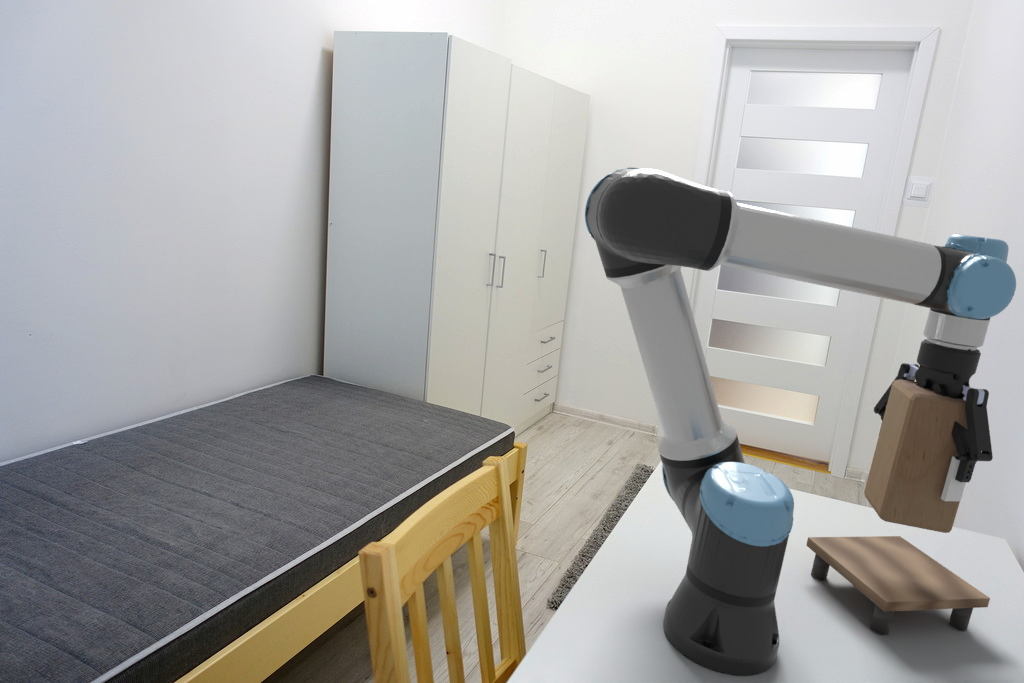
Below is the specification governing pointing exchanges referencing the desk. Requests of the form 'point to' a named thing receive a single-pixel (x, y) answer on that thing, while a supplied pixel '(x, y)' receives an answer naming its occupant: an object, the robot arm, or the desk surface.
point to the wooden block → (915, 458)
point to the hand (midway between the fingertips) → (914, 480)
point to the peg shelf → (896, 578)
